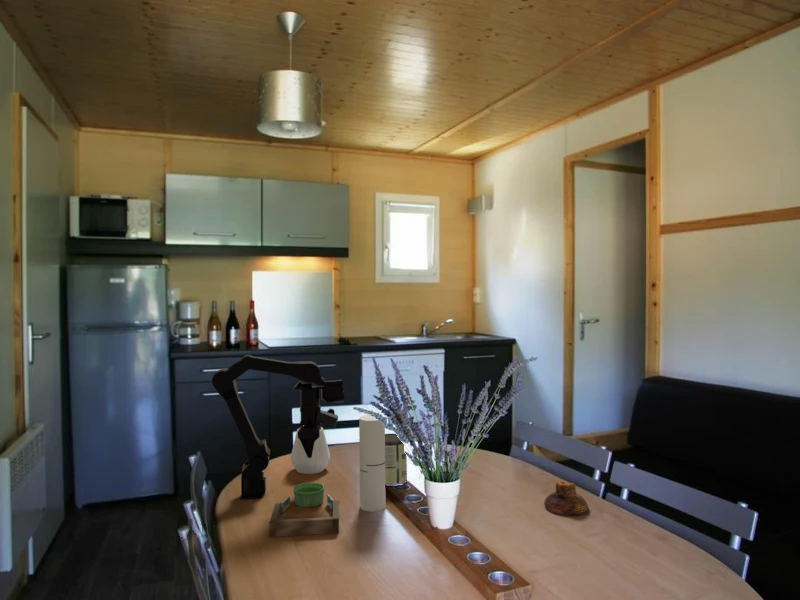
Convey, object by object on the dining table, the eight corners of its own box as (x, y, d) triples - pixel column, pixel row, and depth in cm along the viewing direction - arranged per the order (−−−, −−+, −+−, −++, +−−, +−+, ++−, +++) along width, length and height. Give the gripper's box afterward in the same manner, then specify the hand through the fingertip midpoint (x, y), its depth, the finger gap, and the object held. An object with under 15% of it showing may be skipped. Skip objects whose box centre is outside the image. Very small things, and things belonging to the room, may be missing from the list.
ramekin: (310, 494, 166) (310, 479, 166) (331, 501, 161) (331, 486, 161) (286, 503, 160) (286, 488, 159) (307, 511, 154) (307, 495, 154)
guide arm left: (282, 514, 151) (282, 503, 151) (279, 514, 151) (279, 503, 151) (290, 506, 157) (290, 495, 157) (287, 506, 157) (287, 495, 157)
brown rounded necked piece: (535, 505, 156) (534, 479, 156) (567, 498, 162) (567, 473, 162) (565, 520, 146) (564, 492, 146) (598, 511, 152) (598, 485, 151)
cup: (283, 474, 185) (282, 432, 185) (301, 462, 198) (301, 423, 198) (320, 477, 181) (319, 434, 181) (336, 465, 194) (336, 425, 194)
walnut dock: (269, 536, 137) (269, 522, 137) (275, 516, 150) (275, 503, 150) (338, 532, 139) (338, 518, 139) (338, 513, 152) (338, 500, 152)
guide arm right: (335, 511, 153) (335, 500, 153) (332, 512, 152) (332, 501, 152) (329, 504, 158) (329, 493, 158) (326, 504, 158) (326, 494, 158)
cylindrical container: (382, 512, 152) (381, 421, 152) (357, 510, 153) (356, 420, 153) (388, 502, 159) (387, 415, 159) (363, 501, 160) (363, 414, 160)
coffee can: (377, 476, 182) (376, 433, 182) (408, 476, 181) (408, 433, 181) (372, 486, 172) (372, 441, 172) (405, 487, 171) (405, 442, 171)
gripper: (336, 409, 161) (336, 462, 161) (336, 397, 179) (337, 445, 180) (297, 410, 160) (297, 464, 160) (301, 398, 178) (302, 446, 178)
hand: (310, 454), depth 169 cm, fingers open, 6 cm apart
